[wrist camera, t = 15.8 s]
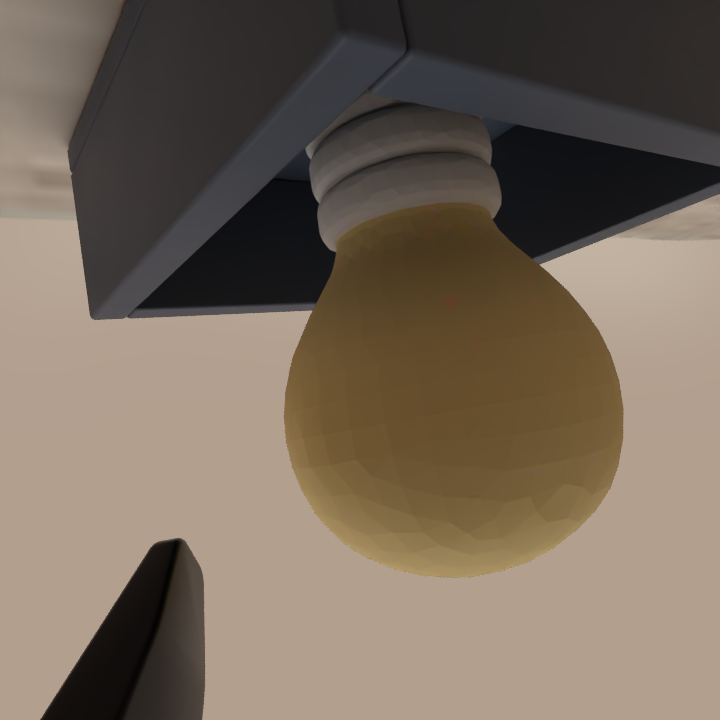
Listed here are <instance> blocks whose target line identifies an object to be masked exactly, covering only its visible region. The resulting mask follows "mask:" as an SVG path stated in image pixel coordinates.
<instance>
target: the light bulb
mask: <svg viewBox="0 0 720 720" xmlns="http://www.w3.org/2000/svg"><path fill="white" fill-rule="evenodd" d="M305 149H306V153H307V155H308V157H309V158H310V159H311V162H310V167H309V172H310V179H311V186H312V192H313V194H314V196H315V199H316V200H317V201H318V202H319V206H318V213H317V217H318V225H319V232H320V236H321V238H322V240H323V242H324V243H325V245H326V246H327V247H328V248H329V249H330V250H332V251H334V252H336V257H335V262H334V267H333V270H332V273H331V276H330V278H329V280H328V282H327V284H326V286H325V288H324V289H323V291H322V293H321V295H320V297H319V299H318V301H317V303H316V305H315V307H314V309H313V311H312V313H311V315H310V317H309V320H308V322H307V324H306V327H305V329H304V332H303V334H302V336H301V339H300V341H299V344H298V346H297V348H296V351H295V353H294V356H293V359H292V363H291V367H290V372H289V377H288V382H287V387H286V392H285V408H284V409H285V410H284V422H285V434H286V443H287V447H288V451H289V455H290V460H291V464H292V468H293V470H294V473H295V475H296V477H297V480H298V482H299V485H300V487H301V490H302V492H303V493H304V495H305V497H306V499H307V500H308V502H309V504H310V505H311V507H312V509H313V510H314V512H315V514H316V515H317V516H318V518H319V519H320V520H321V521H322V522H323V524H324V525H325V526H327V528H329V530H330V531H331V532H332V533H333V534H334V535H335V536H336V537H337V538H338V539H339V540H340V541H342V542H343V543H345V544H346V545H347V546H349V547H350V548H351V549H353V550H354V551H356V552H358V553H360V554H361V555H363V556H365V557H367V558H368V559H371V560H373V561H376V562H378V563H381V564H383V565H385V566H388V567H390V568H393V569H395V570H399V571H404V572H408V573H413V574H418V575H423V576H436V577H453V578H459V577H474V576H479V575H484V574H489V573H495V572H500V571H502V570H506V569H508V568H512V567H515V566H518V565H521V564H523V563H527V562H529V561H531V560H533V559H534V558H536V557H538V556H540V555H542V554H544V553H546V552H547V551H549V550H551V549H553V548H554V547H556V546H557V545H558V544H559V543H561V542H562V541H563V540H565V539H566V538H567V537H568V536H570V535H571V534H572V533H573V532H575V531H576V530H577V529H578V528H579V527H580V526H581V525H582V524H583V523H584V522H585V521H586V520H587V519H588V518H589V517H590V516H591V515H592V514H593V513H594V512H595V511H596V509H597V508H598V506H599V505H600V503H601V502H602V500H603V499H604V497H605V496H606V494H607V492H608V491H609V489H610V487H611V484H612V482H613V479H614V476H615V473H616V471H617V468H618V464H619V458H620V453H621V446H622V441H623V404H622V397H621V390H620V384H619V379H618V376H617V373H616V370H615V366H614V363H613V360H612V357H611V354H610V352H609V350H608V349H607V346H606V344H605V342H604V340H603V338H602V336H601V334H600V332H599V330H598V329H597V328H596V326H595V325H594V323H593V322H592V320H591V319H590V318H589V316H588V315H587V313H586V312H585V311H584V310H583V308H582V307H581V306H580V305H579V304H578V302H577V301H576V300H575V299H574V298H573V296H572V295H571V294H570V293H569V292H568V291H567V290H566V289H565V288H564V287H563V286H562V285H561V284H560V283H559V282H558V281H557V280H556V279H554V278H553V277H552V276H551V275H550V274H549V273H548V272H547V271H546V270H545V269H544V268H542V267H541V266H540V265H539V264H537V263H536V262H535V261H534V260H533V259H531V258H530V257H529V256H528V255H526V254H525V253H524V252H523V251H522V250H520V249H519V248H518V247H517V246H515V245H514V244H513V243H512V242H511V241H510V240H509V239H508V238H507V237H506V236H505V235H504V234H503V233H502V232H501V231H500V230H499V229H498V228H497V226H496V224H495V223H494V221H493V218H494V217H495V216H496V214H497V212H498V210H499V208H500V206H501V197H502V195H501V190H500V185H499V181H498V178H497V175H496V172H495V170H494V169H493V168H492V167H491V166H490V164H491V157H492V147H491V142H490V136H489V133H488V131H487V129H486V127H485V124H484V123H483V122H482V117H478V116H473V115H468V114H464V113H459V112H454V111H449V110H444V109H439V108H435V107H430V106H425V105H420V104H415V103H410V102H406V101H401V100H396V99H391V98H386V97H381V96H377V95H372V94H371V93H369V91H368V89H367V90H366V91H365V92H364V93H363V94H362V95H361V96H360V97H359V98H358V99H357V100H355V101H354V102H353V103H352V104H351V105H350V106H349V107H348V108H347V109H346V110H345V111H344V112H343V113H342V114H341V115H340V116H339V117H337V118H336V119H335V120H334V121H333V122H332V123H331V124H330V125H329V126H328V127H327V128H326V129H325V130H324V131H323V132H322V133H321V134H319V135H318V136H317V137H316V138H315V139H314V140H313V141H312V142H311V143H310V144H309V145H308V146H307V147H306V148H305Z"/></svg>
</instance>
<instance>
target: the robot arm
mask: <svg viewBox="0 0 720 720" xmlns="http://www.w3.org/2000/svg"><path fill="white" fill-rule="evenodd" d="M204 691H205V636H204V581H203V574H202V570H201V568H200V565H199V564H198V562H197V560H196V559H195V557H194V555H193V553H192V552H191V550H190V548H189V547H188V545H187V543H186V542H185V541H184V540H183V539H181V538H176V539H170V540H165V541H159V542H157V543H155V544H154V545H153V546H152V547H151V548H150V549H149V551H148V553H147V554H146V556H145V558H144V559H143V560H142V562H141V563H140V565H139V567H138V568H137V570H136V571H135V573H134V574H133V576H132V577H131V579H130V581H129V582H128V584H127V585H126V587H125V588H124V590H123V591H122V593H121V595H120V596H119V598H118V599H117V601H116V602H115V604H114V606H113V607H112V609H111V610H110V612H109V613H108V615H107V616H106V618H105V620H104V621H103V623H102V624H101V626H100V627H99V629H98V631H97V632H96V634H95V635H94V637H93V639H92V640H91V641H90V643H89V645H88V646H87V648H86V649H85V651H84V652H83V654H82V655H81V657H80V659H79V660H78V662H77V663H76V665H75V666H74V668H73V669H72V671H71V673H70V674H69V676H68V677H67V679H66V680H65V682H64V683H63V685H62V687H61V688H60V690H59V692H58V693H57V694H56V696H55V697H54V699H53V701H52V702H51V704H50V705H49V707H48V708H47V710H46V712H45V713H44V715H43V717H42V718H41V719H40V720H202V714H203V705H204Z"/></svg>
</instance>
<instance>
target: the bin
mask: <svg viewBox="0 0 720 720" xmlns="http://www.w3.org/2000/svg"><path fill="white" fill-rule="evenodd" d="M367 89H368V91H369V93H371V94H372V95H377V96H381V97H386V98H391V99H396V100H401V101H406V102H410V103H415V104H420V105H425V106H430V107H435V108H439V109H444V110H449V111H454V112H459V113H464V114H468V115H473V116H478V117H482V122H483V123H484V124H485V127H486V129H487V131H488V133H489V136H490V142H491V147H492V157H491V164H490V166H491V167H492V168H493V169H494V170H495V172H496V175H497V178H498V181H499V185H500V190H501V195H502V197H501V206H500V208H499V210H498V212H497V214H496V216H495V217H494V218H493V221H494V223H495V224H496V226H497V228H498V229H499V230H500V231H501V232H502V233H503V234H504V235H505V236H506V237H507V238H508V239H509V240H510V241H511V242H512V243H513V244H514V245H515V246H517V247H518V248H519V249H520V250H522V251H523V252H524V253H525V254H526V255H528V256H529V257H530V258H531V259H533V260H534V261H535V262H536V263H537V264H542V263H545V262H547V261H550V260H552V259H554V258H557V257H560V256H562V255H565V254H567V253H570V252H572V251H575V250H578V249H580V248H583V247H585V246H588V245H590V244H593V243H596V242H598V241H600V240H603V239H606V238H608V237H611V236H613V235H616V234H618V233H621V232H624V231H626V230H629V229H631V228H634V227H636V226H639V225H641V224H644V223H647V222H649V221H652V220H654V219H657V218H659V217H662V216H664V215H667V214H669V213H672V212H675V211H677V210H680V209H682V208H685V207H687V206H690V205H692V204H695V203H697V202H700V201H703V200H705V199H708V198H710V197H713V196H715V195H718V194H720V0H127V2H126V5H125V7H124V10H123V12H122V15H121V17H120V20H119V22H118V25H117V27H116V30H115V32H114V35H113V37H112V40H111V43H110V45H109V48H108V50H107V53H106V55H105V58H104V60H103V63H102V65H101V68H100V70H99V73H98V75H97V78H96V80H95V83H94V85H93V88H92V91H91V93H90V96H89V98H88V101H87V103H86V106H85V108H84V111H83V113H82V116H81V118H80V121H79V123H78V126H77V128H76V131H75V133H74V136H73V139H72V141H71V144H70V146H69V149H68V158H69V165H70V170H71V172H72V175H71V178H72V185H73V193H74V200H75V208H76V215H77V222H78V229H79V237H80V244H81V252H82V259H83V266H84V274H85V281H86V288H87V295H88V303H89V311H90V316H91V318H92V319H94V320H101V319H123V318H125V317H128V318H150V317H171V316H172V317H173V316H196V315H219V314H241V313H264V312H286V311H309V310H313V309H314V307H315V305H316V303H317V301H318V299H319V297H320V295H321V293H322V291H323V289H324V288H325V286H326V284H327V282H328V280H329V278H330V276H331V273H332V270H333V267H334V262H335V257H336V252H334V251H332V250H330V249H329V248H328V247H327V246H326V245H325V243H324V242H323V240H322V238H321V236H320V232H319V225H318V217H317V213H318V206H319V202H318V201H317V200H316V199H315V196H314V194H313V192H312V186H311V179H310V172H309V167H310V162H311V159H310V158H309V157H308V155H307V153H306V149H305V148H306V147H307V146H308V145H309V144H310V143H311V142H312V141H313V140H314V139H315V138H316V137H317V136H318V135H319V134H321V133H322V132H323V131H324V130H325V129H326V128H327V127H328V126H329V125H330V124H331V123H332V122H333V121H334V120H335V119H336V118H337V117H339V116H340V115H341V114H342V113H343V112H344V111H345V110H346V109H347V108H348V107H349V106H350V105H351V104H352V103H353V102H354V101H355V100H357V99H358V98H359V97H360V96H361V95H362V94H363V93H364V92H365V91H366V90H367Z"/></svg>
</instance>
